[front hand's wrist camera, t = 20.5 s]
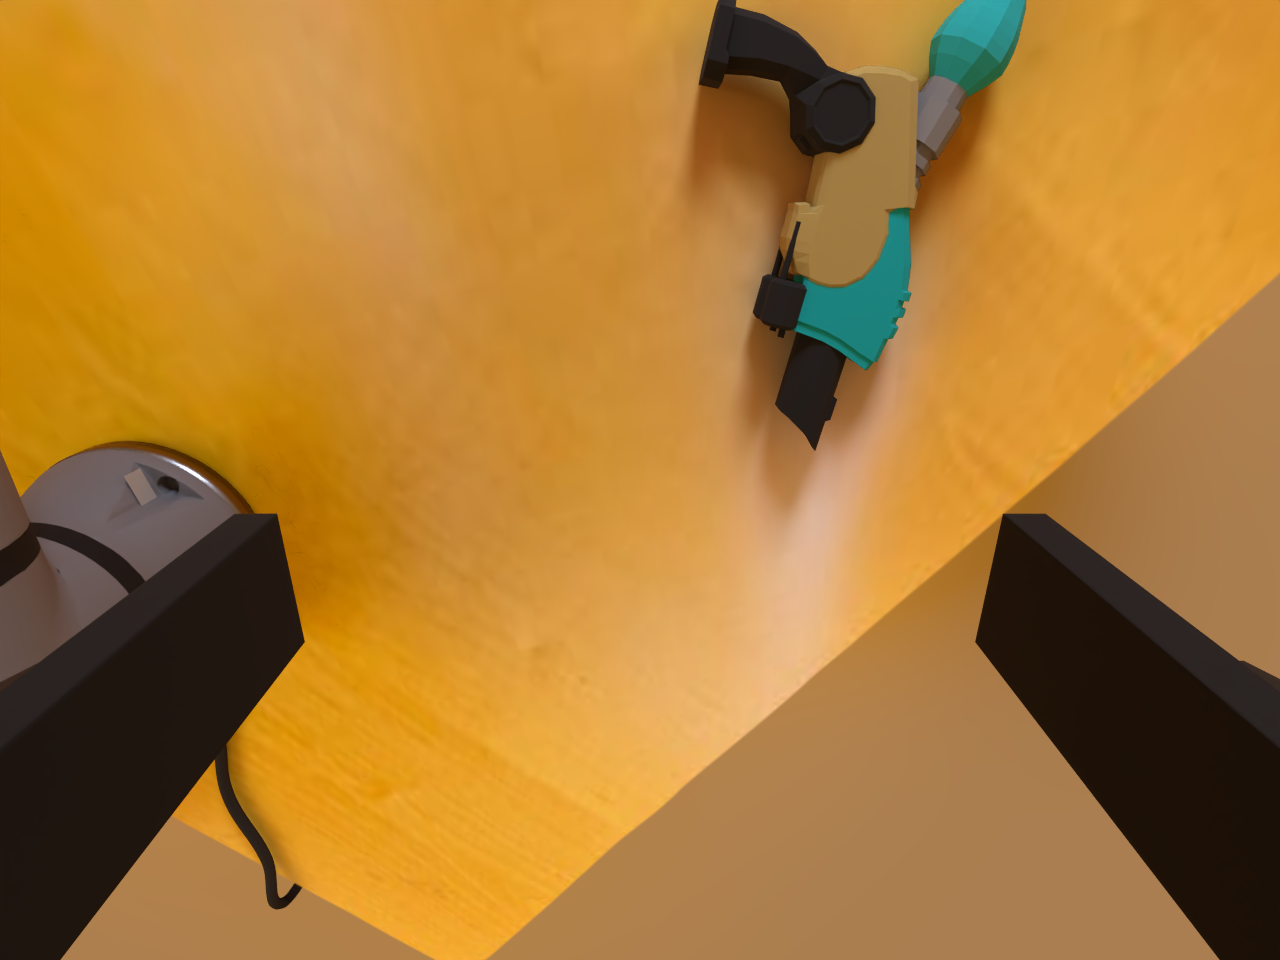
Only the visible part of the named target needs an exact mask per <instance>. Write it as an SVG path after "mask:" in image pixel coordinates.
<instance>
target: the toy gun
mask: <svg viewBox="0 0 1280 960" xmlns="http://www.w3.org/2000/svg"><path fill="white" fill-rule="evenodd" d="M1025 10H1026V0H965V1H964V2H963V3H961V4H960V5H959V6H958V7H957V8H956V9H955V10H954V11H953V12H952V13H951V14H950V15H949V16H948V18H947V19H946V20H945V21H944V22H943V24H942V25H941V26H940V28H939V29H938V31H937V32H936V34H935V35H934V37H933V39H932V40H931V47H930V55H929V79H928V81H927V82H926V84H925V86H924V87H923V89H922V91H921V92H920V91H918V82H919V79H917V78H916V77H914V76H912V75H910V74H908V73H907V72H905V71H903V70H901V69H897V68H891V67H885V66H862V67H859V68H856V69H853V70H850V71H847V72H845V73H843V72H840V71H838V70H835V69H833V68H831V67H829V66H827V65H826V64H825V62H824V61H823V60H822V58H821V57H820V56H819V54H818V53H817V52H816V50H815V49H814V48H813V47H812V46H811V45H810V44H809V43H808V42H807V41H806V40H805V39H804V38H803V37H802V36H801V35H800V34H799V33H798V32H796V31H794V30H792V29H790V28H789V27H787V26H785V25H783V24H781V23H779V22H777V21H775V20H774V19H772V18H770V17H768V16H766V15H764V14H760V13H756V12H753V11H749V10H745V9H741V8H737V7H736V0H718V3H717V5H716V9H715V13H714V17H713V21H712V25H711V29H710V34H709V38H708V43H707V47H706V52H705V56H704V60H703V65H702V69H701V74H700V80H699V85H703V86H708V87H713V88H719V86H720V85H721V83H722V81H723V78H724V74H733V75H748V76H755V77H760V78H765V79H770V80H775V81H779V82H780V83H781V85H782V87H783V89H784V91H785V93H786V95H787V97H788V99H789V104H790V129H791V139H792V140H793V141H794V143H795V144H796V146H797V147H798V148H799V150H800V151H801V152H802V154H804V155H808V156H812V157H814V161H813V166H812V171H811V175H810V180H809V185H808V190H807V195H806V200H805V202H792V203H788V209H787V213H786V217H785V221H784V224H783V228H782V232H781V235H780V247H779V250H778V254H777V257H776V261H775V265H774V268H773V272H772V275H769V274H767V275H765V276H763V278H762V281H761V285H760V289H759V292H758V296H757V299H756V303H755V307H754V310H753V314H754V315H755V316H756V318H758V319H760V320H761V321H762V322H763V323H764V324H765V325H768V326H771V327H770V330H772V331H776V328H778V329H779V332H778V337H781V338H784V335H785V331H786V330H794V331H797V334H796V337H795V341H794V344H793V347H792V350H791V354H790V357H789V360H788V364H787V367H786V370H785V374H784V377H783V380H782V383H781V387H780V390H779V393H778V397H777V400H776V403H775V405H776V406H777V407H778V409H779V410H780V411H781V412H782V413H783V414H785V415H786V416H787V417H788V418H789V419H790V420H791V421H792V422H793V423H794V424H795V425H796V426H797V427H798V428H799V429H800V430H801V431H802V432H803V433H804V434H805V435H806V437H807V439H808V441H809V443H810V445H811V446H812V448H813V449H814V450H816V447H817V444H818V441H819V438H820V435H821V432H822V429H823V426H824V423H825V421H828V420H830V419H831V416H832V413H833V410H834V407H835V404H836V401H837V399H836V398H835V397H834V393H835V390H836V387H837V384H838V381H839V378H840V375H841V372H842V369H843V366H844V363H845V360H846V357H847V358H848V359H850V360H852V361H854V362H855V363H857V364H858V365H859V366H860V367H862V368H863V369H864V370H867V369H868V368H869V367H870V366H871V364H872V363H873V362H877V361H878V359H879V357H880V355H881V352H882V350H883V348H884V346H885V344H886V342H887V340H888V339H892V338H893V337H894V335H895V333H896V331H897V330H898V326H897V325H896V324H895V323H896V321H897V319H898V318H902V317H903V316H904V313H905V310H906V309H905V308H902V306H903V303H904V301H909V299H910V296H911V293H910V292H909V291H908V284H909V277H910V269H911V251H910V221H909V210H913V209H915V205H916V201H917V197H918V190H919V188H920V187H921V183H920V181H919V178H920V176H925V175H926V173H927V172H928V170H929V169H930V164H929V161H930V160H935V159H938V158H939V156H940V155H941V153H942V151H943V150H944V148H945V147H946V145H947V143H948V142H949V140H950V139H951V137H952V135H953V134H954V132H955V131H956V129H957V127H958V126H959V124H960V123H961V121H962V118H961V114H960V112H959V110H960V108H961V107H962V105H963V103H964V102H965V100H966V99H967V97H969V96H971V95H972V94H974V93H976V92H977V91H979V90H981V89H983V88H984V87H986V86H988V85H989V84H991V83H992V82H993V81H995V80H996V79H997V78H999V77H1000V76H1002V74H1003V72H1004V71H1005V69H1006V67H1007V66H1008V64H1009V62H1010V60H1011V57H1012V55H1013V53H1014V51H1015V48H1016V45H1017V42H1018V39H1019V35H1020V31H1021V27H1022V22H1023V18H1024V14H1025ZM783 258H784V265H783V268H782V272H781V275H780V277H779V276H778V273H779V270H780V266H781V263H782V259H783ZM788 273H790V274H793V275H794V276H793V280H790V279H787V274H788Z"/></svg>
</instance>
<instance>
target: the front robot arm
mask: <svg viewBox="0 0 1280 960" xmlns="http://www.w3.org/2000/svg"><path fill="white" fill-rule="evenodd" d="M304 642H305V641H304V636H303V632H302V627H301V623H300V618H299V613H298V609H297V604H296V599H295V595H294V590H293V586H292V581H291V576H290V572H289V567H288V562H287V558H286V553H285V549H284V544H283V539H282V535H281V530H280V526H279V521H278V516H277V514H254V512H253V511H252V509H251V507H250V506H249V505H248V503H247V502H246V501H245V499H244V498H243V497H242V496H241V495H240V493H239V492H238V491H237V490H236V489H235V488H234V487H233V486H232V485H231V484H230V483H229V482H228V481H226V480H225V479H224V478H223V477H222V476H220V475H219V474H218V473H217V472H215V471H214V470H212V469H211V468H210V467H208V466H206V465H205V464H203V463H201V462H200V461H198V460H196V459H194V458H192V457H190V456H188V455H186V454H184V453H181V452H179V451H176V450H173V449H170V448H167V447H164V446H160V445H156V444H151V443H144V442H133V441H121V442H111V443H104V444H100V445H96V446H93V447H91V448H88V449H85V450H83V451H81V452H78V453H76V454H74V455H72V456H69V457H67V458H65V459H63V460H61V461H59V462H58V463H56V464H55V465H53V466H52V467H50V468H49V469H48V470H47V471H46V472H44V473H43V474H42V475H41V476H40V477H39V478H38V479H37V480H36V481H35V482H34V483H33V484H32V485H31V486H30V487H29V488H28V489H27V491H26V492H25V493H24V494H23V495H22V496H21V497H20V496H19V494H18V492H17V489H16V487H15V484H14V482H13V480H12V477H11V475H10V473H9V470H8V468H7V465H6V463H5V461H4V458H3V456H2V453H1V451H0V960H61V958H62V957H63V956H64V954H65V953H66V952H67V950H68V949H69V948H70V947H71V945H72V944H73V943H74V941H75V940H76V939H77V937H78V936H79V935H80V934H81V932H82V931H83V930H84V928H85V927H86V926H87V924H88V923H89V922H90V921H91V919H92V918H93V917H94V915H95V914H96V913H97V911H98V910H99V909H100V908H101V906H102V905H103V904H104V902H105V901H106V900H107V898H108V897H109V896H110V895H111V893H112V892H113V891H114V889H115V888H116V887H117V885H118V884H119V883H120V882H121V880H122V879H123V878H124V876H125V875H126V874H127V872H128V871H129V870H130V869H131V867H132V866H133V865H134V863H135V862H136V861H137V859H138V858H139V857H140V856H141V854H142V853H143V852H144V850H145V849H146V848H147V846H148V845H149V844H150V842H151V841H152V840H153V839H154V837H155V836H156V835H157V833H158V832H159V831H160V829H161V828H162V827H163V826H164V824H165V823H166V822H167V820H168V819H169V818H170V817H171V815H172V814H173V813H174V811H175V810H176V809H177V807H178V806H179V805H180V804H181V802H182V801H183V800H184V798H185V797H186V796H187V794H188V793H189V792H190V791H191V789H192V788H193V787H194V785H195V784H196V783H197V781H198V780H199V779H200V777H201V776H202V775H203V774H204V772H205V771H206V770H207V768H208V767H209V766H210V764H211V763H212V762H213V761H214V759H215V766H216V775H217V781H218V786H219V789H220V793H221V796H222V798H223V801H224V803H225V805H226V807H227V809H228V811H229V813H230V815H231V816H232V818H233V820H234V821H235V823H236V824H237V826H238V827H239V828H240V830H241V831H242V833H243V834H244V835H245V837H246V838H247V839H248V841H249V842H250V844H251V845H252V847H253V848H254V850H255V852H256V853H257V855H258V857H259V859H260V861H261V863H262V865H263V868H264V873H265V881H266V894H267V901H268V904H269V905H270V906H271V907H272V908H273V909H282V908H284V907H286V906H288V905H289V904H290V903H291V902H292V901H293V900H294V899H295V897H296V896H297V895H298V893H299V892H300V890H301V889H302V887H301V886H299V885H298V884H296V883H294V884H293V886H292V887H291V889H290V890H289V892H288V893H287V894H286V895H285V896H284V897H282V898H279V896H278V893H277V879H276V870H275V864H274V861H273V858H272V855H271V853H270V851H269V849H268V847H267V845H266V844H265V842H264V840H263V839H262V837H261V836H260V834H259V833H258V831H257V830H256V828H255V827H254V826H253V824H252V823H251V821H250V820H249V819H248V817H247V816H246V814H245V813H244V811H243V809H242V808H241V806H240V804H239V802H238V800H237V798H236V796H235V794H234V791H233V788H232V785H231V782H230V777H229V772H228V762H227V748H226V744H227V742H228V741H229V740H230V738H231V737H232V736H233V735H234V733H235V732H236V731H237V729H238V728H239V727H240V725H241V724H242V723H243V722H244V720H245V719H246V718H247V716H248V715H249V714H250V712H251V711H252V710H253V709H254V707H255V706H256V705H257V703H258V702H259V701H260V699H261V698H262V697H263V696H264V694H265V693H266V692H267V690H268V689H269V688H270V686H271V685H272V684H273V683H274V681H275V680H276V679H277V677H278V676H279V675H280V673H281V672H282V671H283V670H284V668H285V667H286V666H287V664H288V663H289V662H290V660H291V659H292V658H293V657H294V655H295V654H296V653H297V651H298V650H299V649H300V647H301V646H302V645H303V644H304ZM975 642H976V643H977V645H978V646H979V647H980V649H981V650H982V651H983V653H984V654H985V655H986V657H987V658H988V659H989V660H990V662H991V663H992V664H993V666H994V667H995V668H996V670H997V671H998V672H999V673H1000V675H1001V676H1002V677H1003V679H1004V680H1005V681H1006V683H1007V684H1008V685H1009V686H1010V688H1011V689H1012V690H1013V692H1014V693H1015V694H1016V696H1017V697H1018V698H1019V699H1020V701H1021V702H1022V703H1023V705H1024V706H1025V707H1026V709H1027V710H1028V711H1029V712H1030V714H1031V715H1032V716H1033V718H1034V719H1035V720H1036V722H1037V723H1038V724H1039V725H1040V727H1041V728H1042V729H1043V731H1044V732H1045V733H1046V735H1047V736H1048V737H1049V738H1050V740H1051V741H1052V742H1053V744H1054V745H1055V746H1056V748H1057V749H1058V750H1059V751H1060V753H1061V754H1062V755H1063V757H1064V758H1065V759H1066V760H1067V762H1068V763H1069V764H1070V766H1071V767H1072V768H1073V770H1074V771H1075V772H1076V774H1077V775H1078V776H1079V777H1080V779H1081V780H1082V781H1083V783H1084V784H1085V785H1086V787H1087V788H1088V789H1089V791H1090V792H1091V793H1092V794H1093V796H1094V797H1095V798H1096V800H1097V801H1098V802H1099V804H1100V805H1101V806H1102V807H1103V809H1104V810H1105V811H1106V813H1107V814H1108V815H1109V817H1110V818H1111V819H1112V820H1113V822H1114V823H1115V824H1116V826H1117V827H1118V828H1119V829H1120V831H1121V832H1122V833H1123V835H1124V836H1125V837H1126V839H1127V840H1128V841H1129V843H1130V844H1131V845H1132V846H1133V848H1134V849H1135V850H1136V852H1137V853H1138V854H1139V856H1140V857H1141V858H1142V859H1143V861H1144V862H1145V863H1146V865H1147V866H1148V867H1149V869H1150V870H1151V871H1152V872H1153V874H1154V875H1155V876H1156V878H1157V879H1158V880H1159V882H1160V883H1161V884H1162V885H1163V887H1164V888H1165V889H1166V891H1167V892H1168V893H1169V895H1170V896H1171V897H1172V898H1173V900H1174V901H1175V902H1176V904H1177V905H1178V906H1179V908H1180V909H1181V910H1182V911H1183V913H1184V914H1185V915H1186V917H1187V918H1188V919H1189V921H1190V922H1191V923H1192V924H1193V926H1194V927H1195V928H1196V930H1197V931H1198V932H1199V934H1200V935H1201V936H1202V937H1203V939H1204V940H1205V941H1206V943H1207V944H1208V945H1209V947H1210V948H1211V949H1212V950H1213V952H1214V953H1215V954H1216V956H1217V957H1218V958H1219V959H1220V960H1280V679H1279V678H1277V677H1275V676H1273V675H1271V674H1269V673H1267V672H1265V671H1263V670H1261V669H1259V668H1257V667H1255V666H1253V665H1251V664H1249V663H1247V662H1245V661H1239V660H1237V659H1236V658H1235V657H1233V656H1232V655H1231V654H1229V653H1228V652H1227V651H1225V650H1224V649H1223V648H1221V647H1220V646H1219V645H1218V644H1216V643H1215V642H1214V641H1212V640H1211V639H1210V638H1208V637H1207V636H1206V635H1204V634H1203V633H1202V632H1200V631H1199V630H1198V629H1196V628H1195V627H1194V626H1192V625H1191V624H1190V623H1189V622H1187V621H1186V620H1185V619H1183V618H1182V617H1181V616H1179V615H1178V614H1177V613H1175V612H1174V611H1173V610H1171V609H1170V608H1169V607H1167V606H1166V605H1165V604H1164V603H1162V602H1161V601H1160V600H1158V599H1157V598H1156V597H1154V596H1153V595H1152V594H1150V593H1149V592H1148V591H1146V590H1145V589H1144V588H1142V587H1141V586H1140V585H1139V584H1137V583H1136V582H1135V581H1133V580H1132V579H1131V578H1129V577H1128V576H1127V575H1125V574H1124V573H1123V572H1121V571H1120V570H1119V569H1117V568H1116V567H1115V566H1113V565H1112V564H1111V563H1110V562H1108V561H1107V560H1106V559H1104V558H1103V557H1102V556H1100V555H1099V554H1098V553H1096V552H1095V551H1094V550H1092V549H1091V548H1090V547H1088V546H1087V545H1086V544H1085V543H1083V542H1082V541H1081V540H1079V539H1078V538H1077V537H1075V536H1074V535H1073V534H1071V533H1070V532H1069V531H1067V530H1066V529H1065V528H1063V527H1062V526H1061V525H1060V524H1058V523H1057V522H1056V521H1054V520H1053V519H1052V518H1050V517H1049V516H1048V515H1046V514H1003V516H1002V521H1001V526H1000V530H999V535H998V539H997V544H996V549H995V553H994V558H993V562H992V567H991V572H990V576H989V581H988V586H987V590H986V595H985V599H984V604H983V609H982V613H981V618H980V623H979V627H978V632H977V637H976V641H975Z"/></svg>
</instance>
